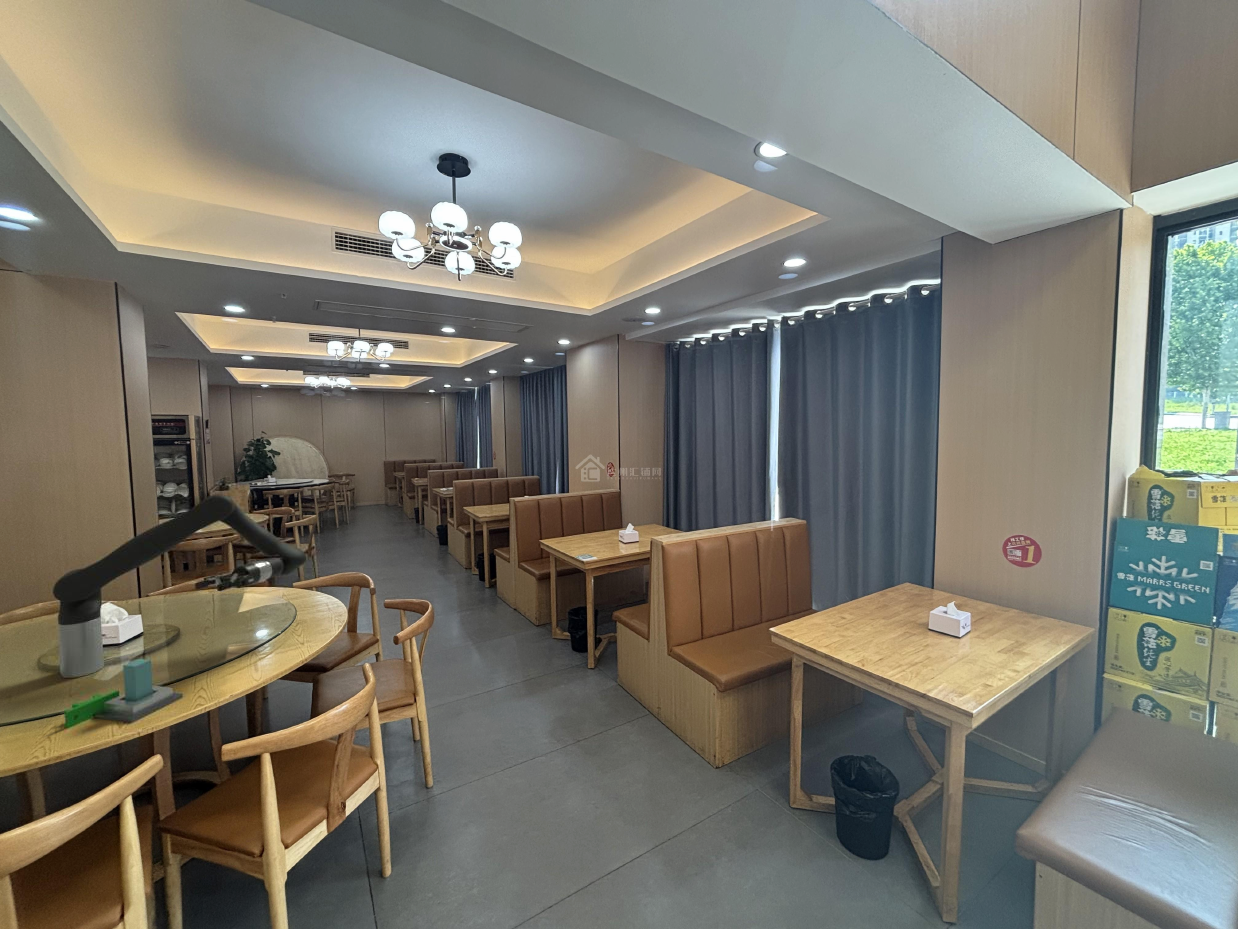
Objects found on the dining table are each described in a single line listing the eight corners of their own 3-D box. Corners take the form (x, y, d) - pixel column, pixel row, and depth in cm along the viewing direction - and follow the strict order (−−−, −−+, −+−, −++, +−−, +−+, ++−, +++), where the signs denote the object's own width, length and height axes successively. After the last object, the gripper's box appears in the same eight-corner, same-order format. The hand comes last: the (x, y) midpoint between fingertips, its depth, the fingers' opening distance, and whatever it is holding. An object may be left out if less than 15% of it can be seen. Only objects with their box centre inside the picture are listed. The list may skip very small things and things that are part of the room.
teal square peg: (125, 706, 137) (123, 665, 136) (141, 699, 141) (139, 658, 140) (137, 708, 136) (134, 666, 136) (153, 700, 140) (150, 660, 140)
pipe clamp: (110, 704, 140) (109, 688, 140) (120, 706, 140) (119, 690, 139) (58, 726, 129) (57, 709, 129) (68, 728, 129) (67, 711, 128)
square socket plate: (93, 717, 133) (92, 705, 133) (146, 692, 146) (146, 681, 146) (131, 723, 131) (131, 710, 131) (182, 697, 144) (182, 685, 144)
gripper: (235, 561, 175) (188, 574, 159) (269, 564, 172) (225, 577, 156) (236, 582, 175) (189, 597, 159) (270, 584, 173) (226, 600, 157)
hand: (207, 587), depth 158 cm, fingers open, 8 cm apart
